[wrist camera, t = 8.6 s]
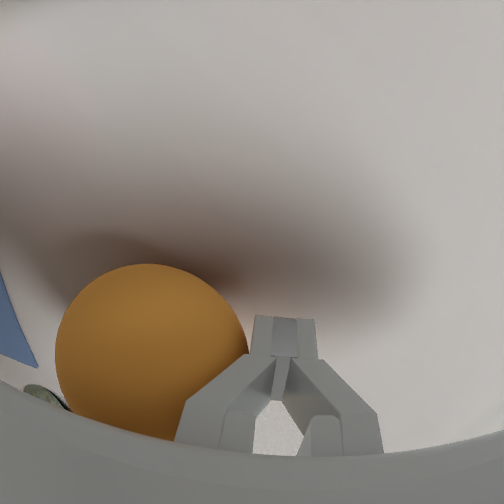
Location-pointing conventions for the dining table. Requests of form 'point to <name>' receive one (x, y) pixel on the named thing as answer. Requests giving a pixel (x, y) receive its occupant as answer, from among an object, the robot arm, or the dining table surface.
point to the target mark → (12, 333)
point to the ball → (144, 347)
